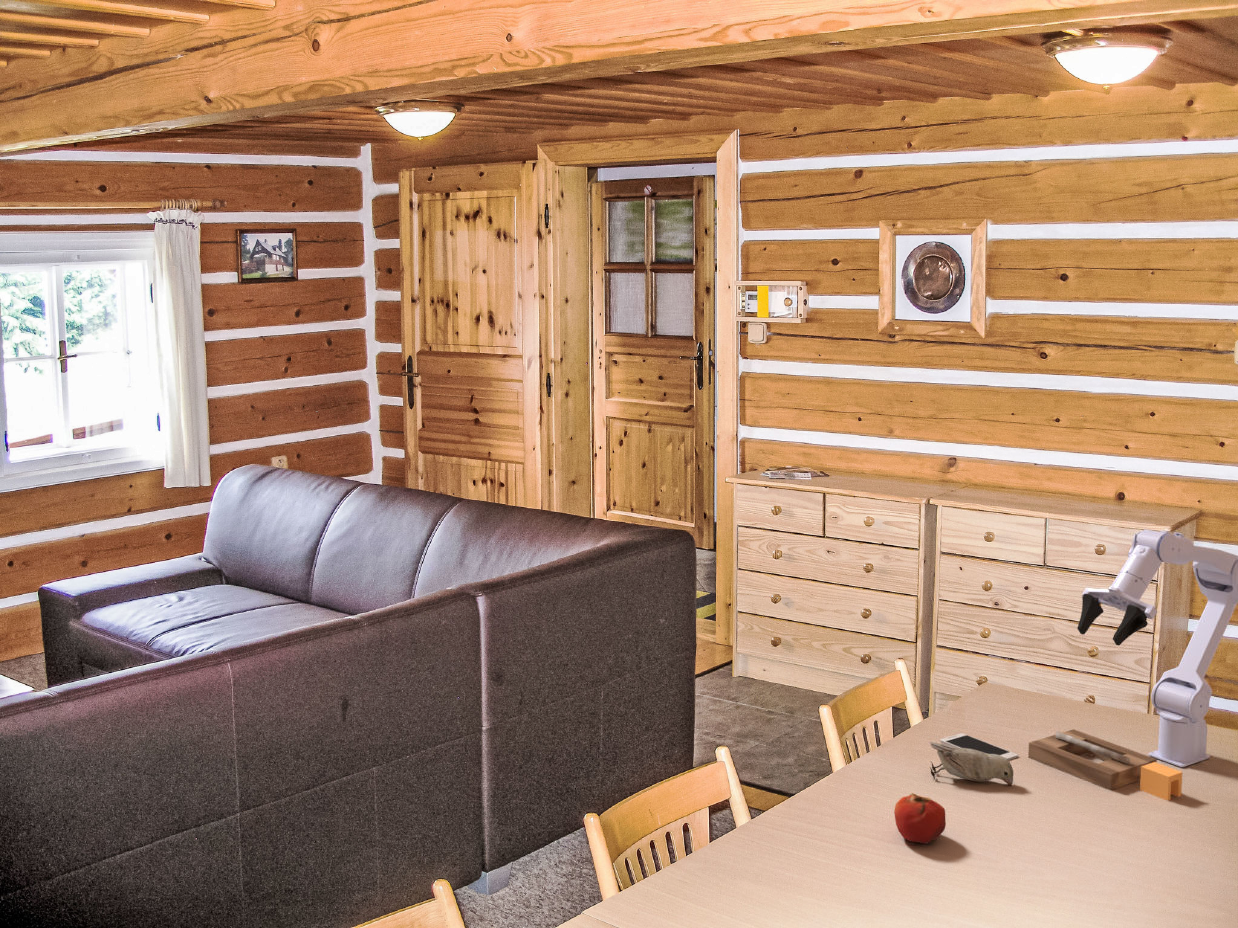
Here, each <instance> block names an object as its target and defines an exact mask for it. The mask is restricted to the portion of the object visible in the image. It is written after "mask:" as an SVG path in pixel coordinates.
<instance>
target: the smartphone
mask: <svg viewBox="0 0 1238 928" xmlns="http://www.w3.org/2000/svg"><path fill="white" fill-rule="evenodd" d="M939 742H940V744H941V743H943V744H946V745H949V746H953V747H957V748H968V749H973V750H977V751H981V752H984V753H987V754H996V755H1000V756H1003V757H1005V758H1006V759H1007V760H1008V761H1010V760H1013V759H1017V758H1019V754H1018V753H1015V752H1012V751H1010V750H1008V749H1005V748H1002V747H1000V746H997V745H994V744H992V743H989V742H986V741H983V740H982V739H978V738H976V737H973V736H971V735H969V734H966V733H963V732H960V733H958V734H954V735H950V736H946V737H943V738H940V739H939Z"/></svg>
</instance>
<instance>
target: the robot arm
mask: <svg viewBox="0 0 1238 928" xmlns="http://www.w3.org/2000/svg"><path fill="white" fill-rule="evenodd" d="M1127 557H1128V558H1127V560H1126V561H1125V563H1124V564H1123V566H1122V568H1121V569H1120V571H1118V573H1117V576H1116V577H1115V579H1114V580H1113V582H1112V584H1111V585H1110V586H1109V588H1108V589H1105V588H1089V587H1085V589H1084V590H1083V592H1082V594H1081V595H1082V597H1081V598H1082V605H1081V615H1080V618H1079V621H1078V624H1077V627H1076V629H1077V631H1078V632H1079V634H1080V635H1082V636H1083V635H1085V634H1086V633H1087V632H1088V631H1089V629H1090V627H1091V626H1092V624H1093V623H1094V622H1095V620H1096V619H1097V618H1098V617H1100V616H1101V615H1102V614H1103V613H1104V612H1105V611H1104V609H1103V608H1102V606H1101V604H1102V605H1106V606H1109V607H1111V608H1115V609H1117V610H1119V611H1122V612H1124V616H1123V618H1122V620H1121V621H1120V622H1121V623H1120V625H1119V626H1118V627H1117V629H1116V630H1115V633H1114V634H1113V636H1112V641H1113V642H1114V643H1115V645H1116V646H1118V647H1119V646H1120V645H1122V644H1123V643H1124V642H1125V641H1126V640H1127V639H1128V638H1129V637H1131V636H1132V635H1133V634H1135V633H1136V632H1138V631H1140V630H1142V629H1144V628H1146V627H1147V626H1148V624H1149V623H1148V621H1147V620H1154V618H1155V617H1156V615H1157V613H1158V610H1157V609H1156V607H1155V605H1151V604H1149V603H1147V602H1144V601H1142V600H1141V598H1142V597H1143V595H1144V594H1145V591H1146V590H1147V588H1148V587H1149V585H1150V583H1151V582H1152V581H1153V578H1155V577H1154V576H1155V575H1156V574H1157V572H1158V570H1159V568H1160V567H1161V566H1162V563H1165V564H1173V565H1178V566H1183V565H1186V564H1188V563H1190V562H1192V570H1193V573H1194V577H1195V580H1196V582H1197V584H1198V587H1199V590H1200V591H1199V592H1201V594H1202V595H1204V596H1205V597H1206V599H1207V603H1206V604H1205V607H1204V609H1203V612H1202V614H1201V616H1200V618H1199V621H1198V622H1197V625H1196V627H1195V629H1194V631H1193V634H1192V636H1191V638H1190V641H1189V642H1188V645H1187V647H1186V649H1185V651H1184V653H1183V656H1182V658H1181V660H1180V662H1179V665H1178V666H1176V667H1175V668H1172V669H1169V670H1166V671H1164V672H1163V673H1162V675H1161V677H1160V679H1159V680H1158V681H1157V682H1156V683H1155V684H1154V686H1153V688H1152V690H1151V694H1150V699H1151V700H1150V701H1151V703H1152V706H1153V707H1154V709H1156V714H1157V715H1159V722H1158V723H1159V726H1158V728H1159V729H1158V744H1157V747H1158V748H1157V749H1155V750H1154V751H1150V752H1149V753H1148V756H1149V757H1152V758H1155V759H1157V760H1161V761H1164V762H1166V763H1169V764H1171V765H1174V766H1177V767H1180V768H1185V767H1187V766H1190V765H1194V764H1196V763H1199V762H1202V761H1204V760H1208V759H1210V758H1211V755H1209V754H1207V740H1208V725H1207V722H1206V720H1205V717H1206V715H1207V713H1208V711H1209V708H1210V701H1211V697H1212V695H1213V690H1212V688H1211V686H1210V684H1209V683H1208V681H1207V680H1206V678H1205V676H1206V674H1207V672H1208V670H1209V667H1210V665H1211V663H1212V661H1213V658H1214V657H1215V654H1216V651H1217V649H1218V648H1219V645H1220V642H1221V640H1222V639H1223V636H1224V634H1225V632H1226V630H1227V628H1228V625H1229V623H1230V621H1231V618H1232V616H1233V614H1234V612H1235V610H1236V607H1237V605H1238V555H1237V554H1234V553H1231V552H1227V551H1225V550H1222V549H1218V548H1213V547H1206V546H1200V545H1194V543H1193V541H1192V540H1191V539H1190V538H1188V537H1186V536H1185V533H1182V532H1181V533H1180V532H1175V531H1174V533H1170V531H1168V530H1163V529H1161V530H1160V531H1157V530H1151V529H1147V528H1146V529H1142V530H1140V531H1138V532H1137V533H1134V535H1133V537H1132V541H1131V545H1130V549H1129V551H1128V555H1127Z"/></svg>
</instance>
